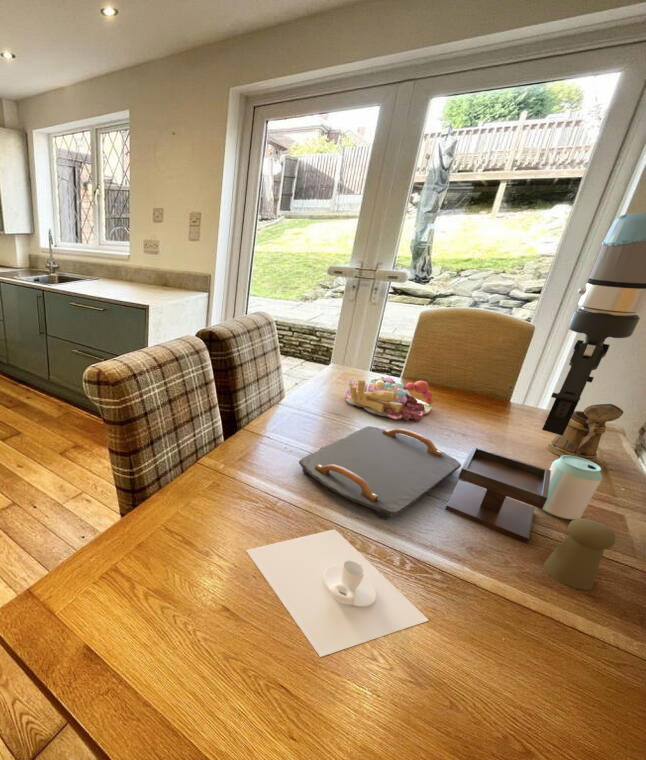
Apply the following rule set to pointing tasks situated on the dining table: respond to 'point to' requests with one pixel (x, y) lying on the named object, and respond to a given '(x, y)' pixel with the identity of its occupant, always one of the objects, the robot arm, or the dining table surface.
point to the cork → (580, 553)
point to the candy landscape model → (390, 398)
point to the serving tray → (381, 468)
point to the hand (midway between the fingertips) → (557, 421)
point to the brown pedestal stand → (499, 492)
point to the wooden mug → (584, 432)
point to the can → (571, 486)
